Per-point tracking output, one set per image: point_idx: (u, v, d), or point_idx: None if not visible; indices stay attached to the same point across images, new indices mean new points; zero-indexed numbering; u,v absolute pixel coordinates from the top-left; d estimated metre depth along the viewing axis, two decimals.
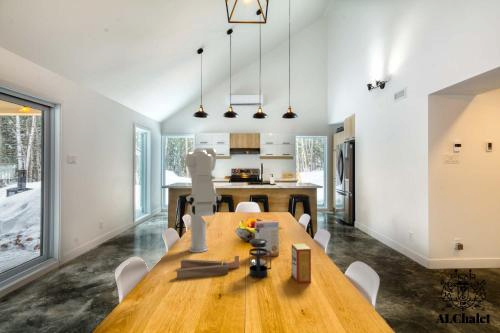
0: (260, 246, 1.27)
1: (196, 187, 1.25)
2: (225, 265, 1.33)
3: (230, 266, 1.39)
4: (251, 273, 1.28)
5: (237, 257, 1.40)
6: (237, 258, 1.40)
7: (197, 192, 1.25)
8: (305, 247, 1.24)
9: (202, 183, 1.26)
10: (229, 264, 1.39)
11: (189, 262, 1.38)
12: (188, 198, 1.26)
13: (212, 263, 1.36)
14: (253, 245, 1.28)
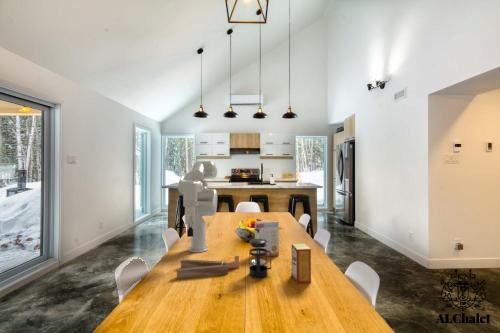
0: (260, 246, 1.27)
1: (194, 211, 1.43)
2: (225, 265, 1.33)
3: (230, 266, 1.39)
4: (251, 273, 1.28)
5: (237, 257, 1.40)
6: (237, 258, 1.40)
7: (194, 215, 1.43)
8: (305, 247, 1.24)
9: None
10: (229, 264, 1.39)
11: (189, 262, 1.38)
12: (191, 225, 1.42)
13: (212, 263, 1.36)
14: (253, 245, 1.28)
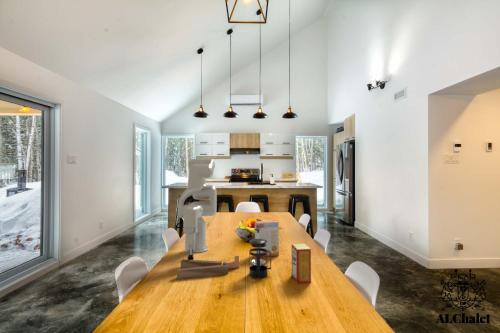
0: (260, 246, 1.27)
1: (194, 238, 1.40)
2: (225, 265, 1.33)
3: (230, 266, 1.39)
4: (251, 273, 1.28)
5: (237, 257, 1.40)
6: (237, 258, 1.40)
7: (194, 242, 1.41)
8: (305, 247, 1.24)
9: (195, 233, 1.43)
10: (229, 264, 1.39)
11: (189, 262, 1.38)
12: (191, 253, 1.39)
13: (212, 263, 1.36)
14: (253, 245, 1.28)
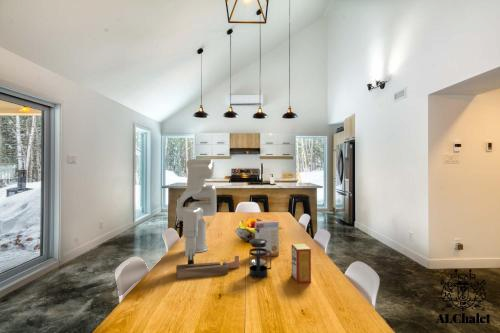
0: (260, 246, 1.27)
1: (195, 242, 1.33)
2: (225, 265, 1.33)
3: (230, 266, 1.39)
4: (251, 273, 1.28)
5: (237, 257, 1.40)
6: (237, 258, 1.40)
7: (195, 247, 1.34)
8: (305, 247, 1.24)
9: (195, 237, 1.36)
10: (229, 264, 1.39)
11: (186, 266, 1.32)
12: (192, 257, 1.33)
13: (211, 265, 1.34)
14: (253, 245, 1.28)
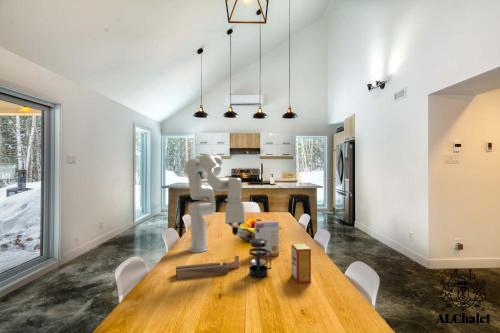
0: (260, 246, 1.27)
1: None
2: (225, 265, 1.33)
3: (230, 266, 1.39)
4: (251, 273, 1.28)
5: (237, 257, 1.40)
6: (237, 258, 1.40)
7: None
8: (305, 247, 1.24)
9: None
10: (229, 264, 1.39)
11: (186, 267, 1.30)
12: None
13: (211, 265, 1.33)
14: (253, 245, 1.28)
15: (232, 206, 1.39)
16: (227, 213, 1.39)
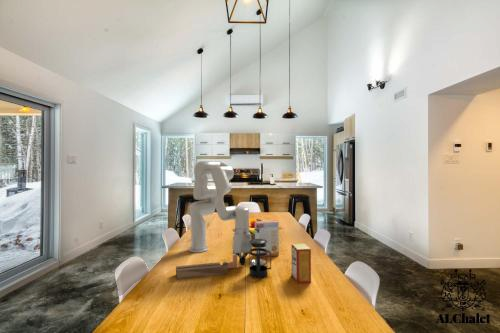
0: (260, 246, 1.27)
1: None
2: (225, 265, 1.33)
3: (228, 266, 1.38)
4: (251, 273, 1.28)
5: (235, 257, 1.39)
6: (235, 258, 1.39)
7: None
8: (305, 247, 1.24)
9: None
10: None
11: (186, 267, 1.30)
12: None
13: (211, 265, 1.33)
14: (253, 245, 1.28)
15: (241, 237, 1.39)
16: (236, 244, 1.38)
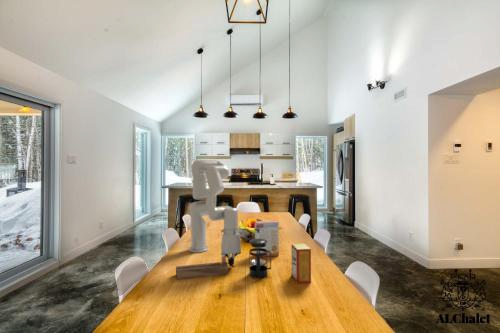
0: (260, 246, 1.27)
1: None
2: (225, 265, 1.33)
3: None
4: (251, 273, 1.28)
5: (224, 258, 1.38)
6: (224, 259, 1.38)
7: None
8: (305, 247, 1.24)
9: None
10: None
11: (186, 267, 1.30)
12: None
13: (211, 265, 1.33)
14: (253, 245, 1.28)
15: (230, 237, 1.37)
16: (224, 245, 1.36)
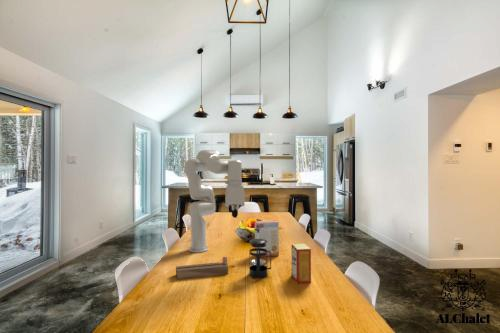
0: (260, 246, 1.27)
1: None
2: (225, 265, 1.33)
3: None
4: (251, 273, 1.28)
5: (225, 258, 1.38)
6: (225, 259, 1.38)
7: None
8: (305, 247, 1.24)
9: None
10: None
11: (186, 267, 1.30)
12: None
13: (211, 265, 1.33)
14: (253, 245, 1.28)
15: (233, 188, 1.38)
16: (228, 195, 1.37)
